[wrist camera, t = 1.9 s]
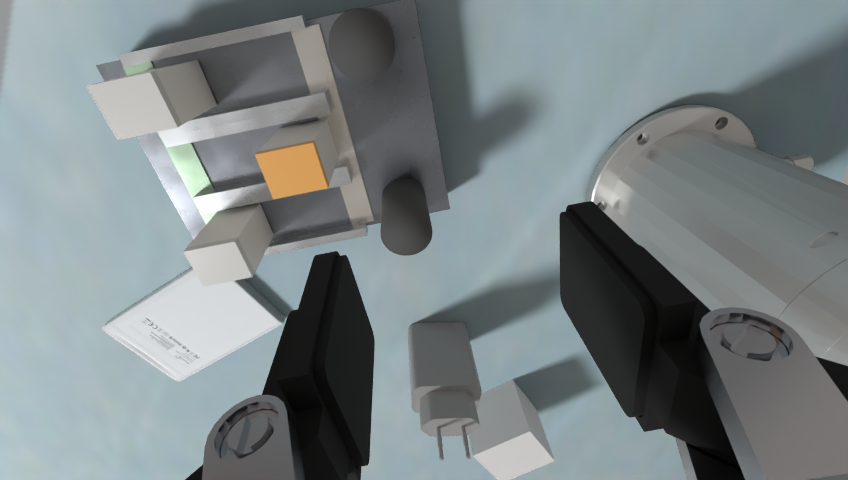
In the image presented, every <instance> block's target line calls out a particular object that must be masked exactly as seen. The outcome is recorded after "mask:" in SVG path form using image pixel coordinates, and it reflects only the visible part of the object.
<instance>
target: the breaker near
mask: <svg viewBox="0 0 848 480" xmlns="http://www.w3.org/2000/svg"><path fill="white" fill-rule="evenodd" d="M86 87H87V89H88V90H89V92H90V94H91V96H92V97H93V99H94V101H95V102H96V104H97V106H98V108H99V109H100V111H101V113H102V114H103V116H104V118H105V119H106V121H107V123H108V125H109V126H110V128H111V130H112V131H113V133H114V135H115V137H116V138H117V140H120V139H125V138H130V137H134V136H139V135H144V134H149V133H154V132H158V131H163V130H168V129H173V128H178V127H179V126H181V125H183V124H185V123H186V122H188V121H190V120H192V119H194V118H195V117H197V116H199V115H201V114H202V113H204V112H206V111H208V110H210V109H211V108H213V107H215V106H217V103H216V101H215V99H214V97H213V94H212V92H211V90H210V87H209V85H208V83H207V81H206V78H205V76H204V74H203V71H202V69H201V67H200V64H199V62H198V60H194V61H189V62H184V63H179V64H175V65H170V66H165V67H161V68H156V69H151V70H147V71H143V72H139V73H135V74H131V75H127V76H123V77H119V78H115V79H111V80H108V81H104V82H100V83H96V84H92V85H88V86H86Z"/></svg>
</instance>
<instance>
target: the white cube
mask: <svg viewBox="0 0 848 480" xmlns="http://www.w3.org/2000/svg"><path fill="white" fill-rule="evenodd" d="M476 409H477V414H478V419H479V423H480V427H479V428H478V429H476V430H475V431H473V432H472V433H470V434H469V437H470V443H471V448H472V453H473V456H474V457H475V458H476V459H477V460H478V461H479V462H480V463H481V464H482V465H483V466H484V467H485V468H486V469H487V470H488V471H489V472H490V473H491V474H492V475H493V476H494V477H495V478H496V479H497V480H510V479H512V478H515V477H517V476H520V475H522V474H525V473H527V472H529V471H532V470H534V469H537V468H539V467H542V466H544V465H546V464H549V463H551V462H554V461H555V460H554V457H553V454H552V452H551V449H550V446H549V443H548V441H547V438H546V435H545V432H544V430H543V427H542V424H541V422H540V419H539V416H538V413H537V411H536V408H535V407H534V406H533V405H532V403H531V402H530V401H529V399H528V398H527V397H526V396H525V394H524V393H523V392H522V391H521V389H520V388H519V387H518V385H517V384H516V383H515V382H514V380H513V379H512V380H510V381H508V382H506V383H504V384H502V385H500V386H497V387H495V388H493V389H491V390H489V391H487V392H485V393H483V394H481V397H480V403H479V406H478V407H477V408H476Z"/></svg>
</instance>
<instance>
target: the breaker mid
mask: <svg viewBox="0 0 848 480" xmlns="http://www.w3.org/2000/svg"><path fill="white" fill-rule="evenodd" d="M255 156H256V159H257V161H258V164H259V166H260V168H261V171H262V173H263V176H264V178H265V180H266V183H267V185H268V188H269V190H270V192H271V195H272V197H273V199H277V198H282V197H287V196H292V195H297V194H302V193H307V192H312V191H317V190H322V189H327V188H328V187H329V184H330V181H331V178H332V175H333V172H334V169H335V166H336V163H337V160H338V158H339V157H338V154H337V150H336V147H335V144H334V141H333V137H332V134H331V131H330V128H329V124H328V121H327V119H322V120H317V121H312V122H307V123H302V124H298V125H293V126H288V127H283V128H279V129H278V130H277V131H276V132H275V133H274V134H273V135H272V137H271V138H270V139H269V140H268V141H267V142H266V143H265V144H264V145H263V146H262V147H261V149H260V150H259V151H258V152H257V153H256V154H255Z"/></svg>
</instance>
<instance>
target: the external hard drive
mask: <svg viewBox="0 0 848 480" xmlns="http://www.w3.org/2000/svg"><path fill="white" fill-rule="evenodd" d="M285 318H286V317H285V316H284V315H283V314H282V313H281V312H279V311H278V310H277V309H276V308H275V307H274V306H273V305H272V304H271V303H270V302H269V301H267V300H266V299H265V298H264V297H263V296H262V295H261V294H260V293H259V292H258V291H257V290H256V289H254V288H253V287H252V286H251V285H250V284H249V283H248V282H247V281H246V280H245V279H240V280H235V281H230V282H225V283H220V284H215V285H210V286H205V287H203V285H202V283H201V281H200V280H199V278H198V276H197V275H196V273H195V271H194V269H193V268H192V267H191V268H190V269H188V270H187V271H185V272H184V273H182V274H181V275H179V276H177V277H176V278H174V279H173V280H171V281H170V282H168V283H167V284H165V285H163V286H162V287H160V288H159V289H157V290H156V291H154V292H153V293H151V294H149V295H148V296H146V297H145V298H143V299H142V300H140V301H138V302H137V303H135V304H134V305H132V306H131V307H129V308H128V309H126V310H125V311H123V312H121V313H120V314H118V315H117V316H115V317H114V318H112V319H111V320H109V321H107V323H106V324H105V325H104V326H103V327H102V328H103V330H104V331H105V332H106V333H107V334H108V335H110V336H111V337H113V338H114V339H116V340H117V341H118V342H120V343H121V344H123V345H124V346H126V347H127V348H129V349H130V350H132V351H133V352H135V353H136V354H138V355H139V356H140V357H142V358H143V359H145V360H146V361H148V362H149V363H150V364H152V365H153V366H155V367H156V368H158V369H159V370H161V371H162V372H164V373H165V374H166V375H168V376H169V377H171V378H172V379H174V380H176V381H182V380H184V379H185V378H187V377H189V376H191V375H192V374H194V373H196V372H198V371H200V370H201V369H203V368H205V367H207V366H209V365H211V364H212V363H214V362H216V361H218V360H219V359H221V358H223V357H225V356H227V355H228V354H230V353H232V352H234V351H235V350H237V349H239V348H241V347H243V346H244V345H246V344H248V343H250V342H252V341H253V340H255V339H257V338H259V337H260V336H262V335H264V334H266V333H267V332H269V331H271V330H273V329H274V328H276V327H278V326H280V325H281V324H283V323H284V320H285Z"/></svg>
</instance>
